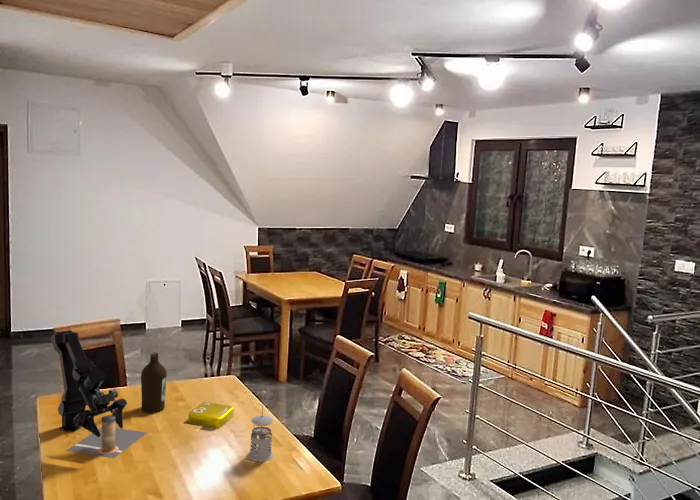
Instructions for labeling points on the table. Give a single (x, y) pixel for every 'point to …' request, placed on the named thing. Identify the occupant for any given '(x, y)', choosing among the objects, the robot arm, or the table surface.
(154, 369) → the olive oil
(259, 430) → the french press
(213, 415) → the element tile
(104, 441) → the beige cylindrical canister
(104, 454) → the subfloor panel
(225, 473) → the table surface
